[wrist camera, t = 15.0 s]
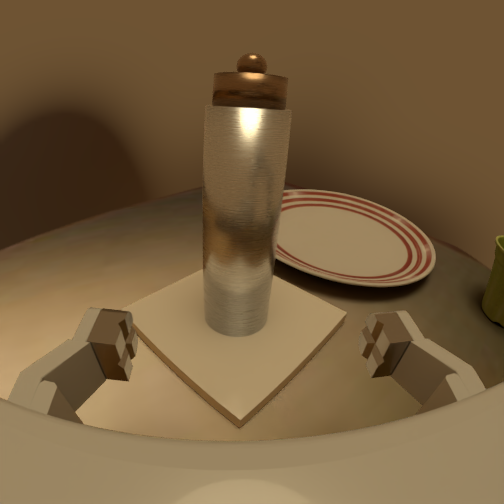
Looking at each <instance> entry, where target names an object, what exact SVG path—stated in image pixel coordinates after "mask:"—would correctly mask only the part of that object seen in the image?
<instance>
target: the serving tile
mask: <svg viewBox="0 0 504 504" xmlns="http://www.w3.org/2000/svg"><path fill="white" fill-rule="evenodd" d="M121 311H129V312H131V313H132V317H133V323H132V327H133V328H134V329H135V330H136V333H137V335H138V336H139V337H140V338H141V339H142V340H143V341H144V342H145V343H146V344H147V345H148V346H149V347H150V349H151V350H152V351H153V352H154V353H155V354H156V355H157V356H158V357H159V358H160V359H161V360H162V361H163V362H164V363H165V364H167V365H168V366H169V367H170V368H171V369H172V370H173V371H174V372H175V373H176V374H177V375H178V376H179V377H180V378H181V379H182V380H183V381H184V382H186V383H187V384H188V385H189V386H190V387H191V388H192V389H193V390H194V391H196V392H197V393H198V394H199V395H200V396H201V397H202V398H203V399H205V400H206V401H207V402H208V403H209V404H210V405H212V406H213V407H214V408H215V409H216V410H218V411H219V412H220V413H221V414H222V415H224V416H225V417H226V418H227V419H229V420H230V421H231V422H232V423H234V424H235V425H236V426H238V427H239V428H240V427H242V426H243V425H244V424H245V423H246V422H247V421H248V420H249V419H251V418H252V417H253V416H254V415H255V414H256V413H257V412H258V411H259V410H260V409H262V408H263V407H264V406H265V405H266V404H267V403H268V402H269V401H270V400H271V399H272V398H273V397H274V396H275V395H276V394H277V393H278V392H279V391H280V390H281V389H282V388H283V387H284V386H285V385H286V384H287V383H288V382H289V381H290V380H291V379H292V378H293V377H294V376H295V375H296V374H297V373H298V372H299V371H300V370H301V369H302V368H303V367H304V366H305V365H306V364H307V363H308V362H309V361H310V360H311V359H312V358H313V357H314V355H315V354H316V353H317V352H318V351H319V350H320V349H321V348H322V347H323V346H324V345H325V343H326V342H327V341H328V340H329V339H330V338H331V337H332V336H333V334H334V333H335V332H336V331H337V330H338V329H339V328H340V326H341V325H342V324H343V323H344V321H345V318H346V315H347V312H345V311H343V310H341V309H339V308H337V307H335V306H333V305H331V304H329V303H327V302H325V301H323V300H321V299H319V298H317V297H315V296H313V295H311V294H309V293H308V292H306V291H304V290H302V289H300V288H298V287H296V286H294V285H292V284H290V283H288V282H286V281H284V280H282V279H280V278H278V277H276V276H274V275H273V280H272V287H271V295H270V302H269V309H268V316H267V322H266V324H265V326H264V327H263V328H262V329H261V330H260V331H258V332H256V333H254V334H252V335H249V336H244V337H230V336H226V335H222V334H220V333H218V332H216V331H214V330H213V329H212V328H210V327H209V325H208V324H207V323H206V320H205V317H204V287H203V269H202V270H200V271H198V272H195V273H193V274H191V275H189V276H187V277H185V278H183V279H181V280H179V281H177V282H175V283H173V284H171V285H169V286H167V287H165V288H163V289H161V290H159V291H157V292H154V293H152V294H150V295H148V296H146V297H144V298H142V299H140V300H138V301H136V302H134V303H132V304H130V305H128V306H126V307H124V308H122V309H121Z"/></svg>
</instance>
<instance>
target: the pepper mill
mask: <svg viewBox="0 0 504 504" xmlns="http://www.w3.org/2000/svg"><path fill="white" fill-rule="evenodd" d="M266 70H267V63H266V61H265V59H264V58H263V57H262V56H261V55H259V54H256V53H248V54H245V55H243V56H242V57H241V58H240V59H239V60H238V63H237V71H238V72H223V73H215V74H214V84H213V101H212V105H206V107H205V127H204V157H203V158H204V159H203V287H204V317H205V320H206V323H207V324H208V325H209V327H210V328H212V329H213V330H214V331H216V332H218V333H220V334H222V335H226V336H230V337H244V336H249V335H252V334H254V333H256V332H258V331H260V330H261V329H262V328H263V327H264V326H265V324H266V322H267V316H268V309H269V302H270V295H271V287H272V280H273V272H274V265H275V257H276V249H277V241H278V233H279V225H280V216H281V208H282V199H283V191H284V182H285V173H286V163H287V154H288V145H289V134H290V124H291V115H292V111H291V110H286V109H285V107H286V97H287V86H288V78H285V77H281V76H276V75H269V74H265V73H266Z"/></svg>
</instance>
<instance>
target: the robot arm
mask: <svg viewBox="0 0 504 504" xmlns="http://www.w3.org/2000/svg"><path fill="white" fill-rule="evenodd" d="M132 323H133V317H132V313H131V312H129V311H121V310H112V309H100V308H93V307H90V308H89V309H87V311H86V313H85V315H84V317H83V319H82V321H81V323H80V325H79V327H78V329H77V331H76V333H75V335H74V337H73V339H72V340H70V339H68V340H67V341H65V342H64V343H62V344H61V345H59V346H58V347H56V348H55V349H53V350H52V351H51V352H49V353H48V354H46V355H45V356H43V357H42V358H40V359H39V360H37V361H36V362H35V363H33V364H32V365H30V366H29V367H27V368H26V369H25V370H23V371H22V372H20V374H19V377H18V379H17V381H16V383H15V385H14V387H13V389H12V391H11V394H10V396H9V398H8V400H5V399H2V398H0V504H504V382H501V383H499V384H497V385H495V386H493V387H491V388H488V389H485V387H484V385H483V383H482V382H481V380H480V378H479V377H478V375H477V374H476V372H475V370H474V369H473V367H472V366H470V365H469V364H467V363H466V362H464V361H462V360H461V359H459V358H458V357H456V356H455V355H453V354H451V353H450V352H448V351H447V350H445V349H443V348H442V347H440V346H439V345H437V344H436V343H434V342H432V341H431V340H429V339H425V338H424V337H423V335H422V334H421V332H420V330H419V329H418V327H417V326H416V324H415V323H414V321H413V320H412V318H411V317H410V315H409V314H408V312H406V311H405V310H404V311H394V312H382V313H370V314H369V315H368V316H367V318H366V321H365V323H366V325H367V326H366V327H365V328H364V329H363V330H362V331H361V333H360V336H359V350H360V352H361V355H362V356H363V357H365V358H366V359H367V362H366V367H367V369H368V371H369V374H370V376H371V378H376V377H384V376H391V377H392V378H393V379H394V380H395V381H396V382H397V383H398V384H399V385H401V386H402V387H403V388H404V389H405V390H406V391H407V392H408V393H409V394H410V395H412V396H413V397H414V398H415V399H416V400H417V401H418V402H419V403H420V404H421V405H423V406H422V407H421V408H420V409H419V411H418V412H417V413H416V415H414V416H411V417H407V418H404V419H400V420H396V421H392V422H388V423H384V424H380V425H375V426H371V427H366V428H361V429H356V430H350V431H345V432H339V433H332V434H325V435H318V436H310V437H301V438H290V439H277V440H260V441H202V440H184V439H172V438H162V437H153V436H145V435H137V434H131V433H124V432H119V431H113V430H108V429H103V428H98V427H93V426H89V425H84V424H83V422H82V421H81V420H80V418H79V417H78V416H77V414H76V413H75V411H76V410H77V409H78V408H79V407H80V406H81V405H82V404H83V403H84V402H85V401H86V400H87V399H88V398H89V397H90V396H91V395H92V394H93V393H94V392H95V391H96V390H97V389H98V388H99V387H100V386H101V385H102V384H103V383H104V382H105V381H106V379H111V380H120V381H129V379H130V375H131V371H132V367H133V365H132V362H131V359H133V358H134V357H135V356H136V352H137V343H138V340H137V333H136V330H135V329H134V328H133V327H132Z"/></svg>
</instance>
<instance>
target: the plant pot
mask: <svg viewBox="0 0 504 504" xmlns="http://www.w3.org/2000/svg"><path fill="white" fill-rule="evenodd" d="M495 242H496V245H497V246H496V250H495V260H494V264H493V267H492V271H491V275H490V278H489V281H488V284H487V287H486V290H485V293H484V296H483V299H482V309H483V311H484V313H485V314H486V315H487V316H488V318H489V319H490V320H492V321H493V322H498V323H500V324H501V325H502V327H504V236H497V238H496V240H495Z"/></svg>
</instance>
